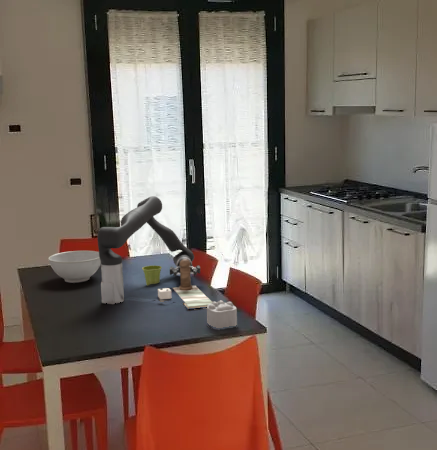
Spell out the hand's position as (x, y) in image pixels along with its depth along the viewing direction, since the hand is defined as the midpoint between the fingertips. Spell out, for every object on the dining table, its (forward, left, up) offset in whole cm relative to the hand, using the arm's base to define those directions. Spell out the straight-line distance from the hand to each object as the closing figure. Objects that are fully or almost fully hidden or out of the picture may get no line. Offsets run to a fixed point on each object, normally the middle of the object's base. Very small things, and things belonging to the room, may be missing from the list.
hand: (185, 273), depth 296 cm
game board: (-7, -7, -9) cm, 14 cm away
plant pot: (+7, +22, -9) cm, 25 cm away
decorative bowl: (+3, +64, -9) cm, 65 cm away
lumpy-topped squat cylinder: (-35, -34, -9) cm, 50 cm away
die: (-14, +3, -9) cm, 17 cm away
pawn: (+2, +1, -8) cm, 8 cm away
